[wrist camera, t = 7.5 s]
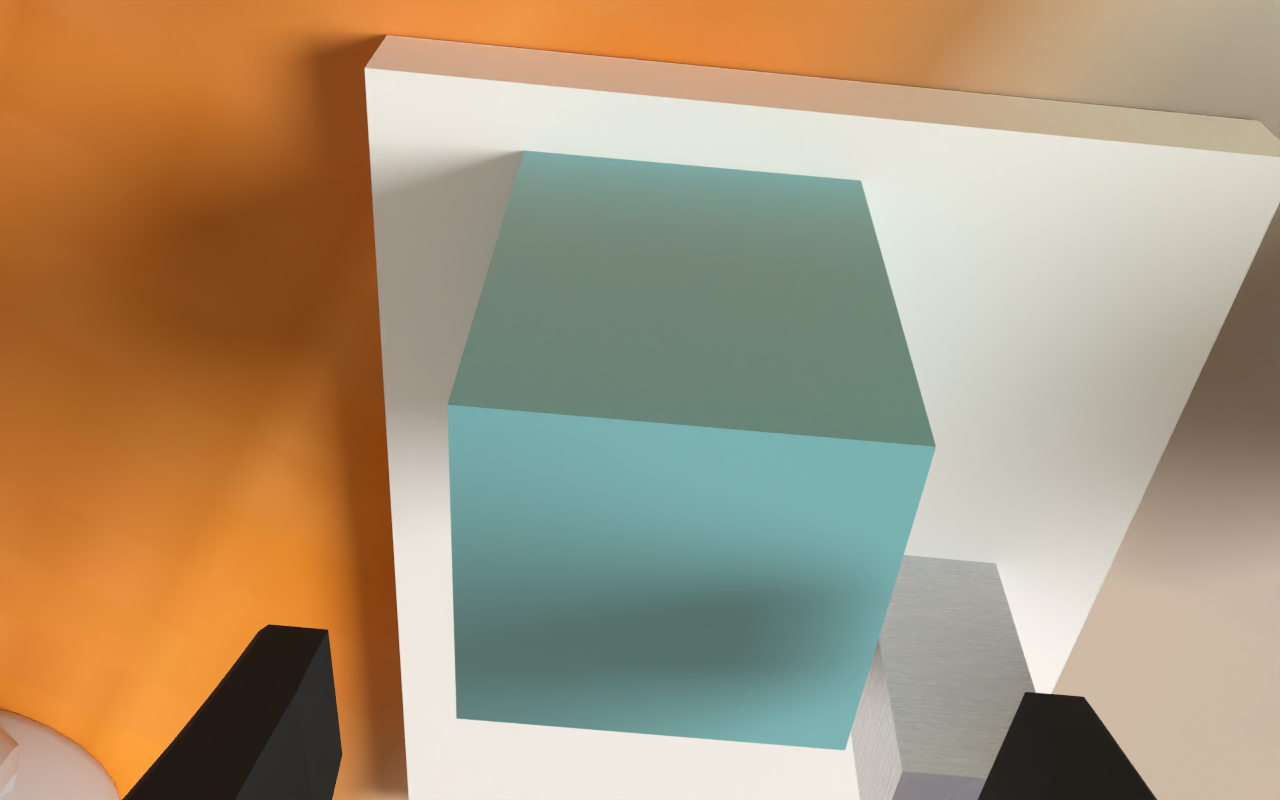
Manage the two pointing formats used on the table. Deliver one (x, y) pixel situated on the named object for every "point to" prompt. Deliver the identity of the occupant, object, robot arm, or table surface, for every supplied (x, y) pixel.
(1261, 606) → the table surface
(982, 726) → the steel post
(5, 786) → the cup
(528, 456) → the teal rectangular block
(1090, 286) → the post board
